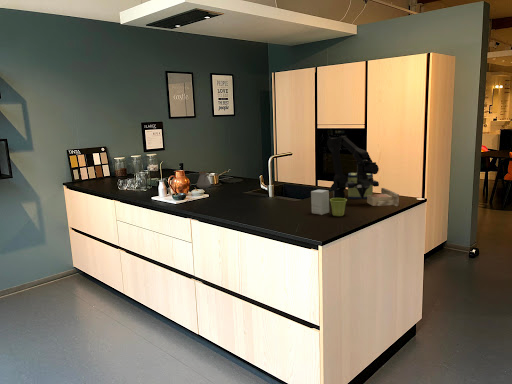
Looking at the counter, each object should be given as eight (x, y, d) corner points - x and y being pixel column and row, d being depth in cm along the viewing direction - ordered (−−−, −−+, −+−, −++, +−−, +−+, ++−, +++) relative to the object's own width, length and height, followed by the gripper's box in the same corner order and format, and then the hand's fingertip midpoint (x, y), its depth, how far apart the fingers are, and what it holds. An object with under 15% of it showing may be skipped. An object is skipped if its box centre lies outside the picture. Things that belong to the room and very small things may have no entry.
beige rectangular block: (372, 206, 247) (372, 197, 246) (367, 203, 256) (367, 194, 255) (392, 204, 248) (392, 196, 247) (386, 201, 257) (386, 193, 256)
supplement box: (329, 212, 236) (329, 190, 234) (321, 215, 231) (321, 192, 229) (318, 210, 241) (318, 189, 239) (311, 213, 236) (310, 191, 234)
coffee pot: (194, 188, 337) (192, 169, 334) (206, 186, 344) (205, 168, 341) (207, 191, 320) (206, 171, 318) (220, 189, 327) (219, 170, 324)
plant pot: (343, 212, 234) (343, 197, 233) (349, 216, 225) (349, 200, 223) (327, 213, 233) (327, 198, 231) (333, 217, 224) (333, 201, 222)
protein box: (373, 198, 266) (373, 174, 263) (347, 199, 269) (347, 175, 266) (372, 195, 276) (372, 172, 273) (347, 195, 279) (347, 172, 276)
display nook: (380, 207, 242) (380, 195, 241) (366, 199, 264) (366, 188, 262) (398, 206, 243) (398, 194, 242) (383, 198, 265) (383, 187, 263)
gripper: (351, 175, 240) (351, 202, 243) (382, 173, 242) (382, 200, 244) (345, 172, 251) (345, 198, 254) (375, 171, 253) (375, 196, 255)
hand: (362, 198), depth 252 cm, fingers closed
